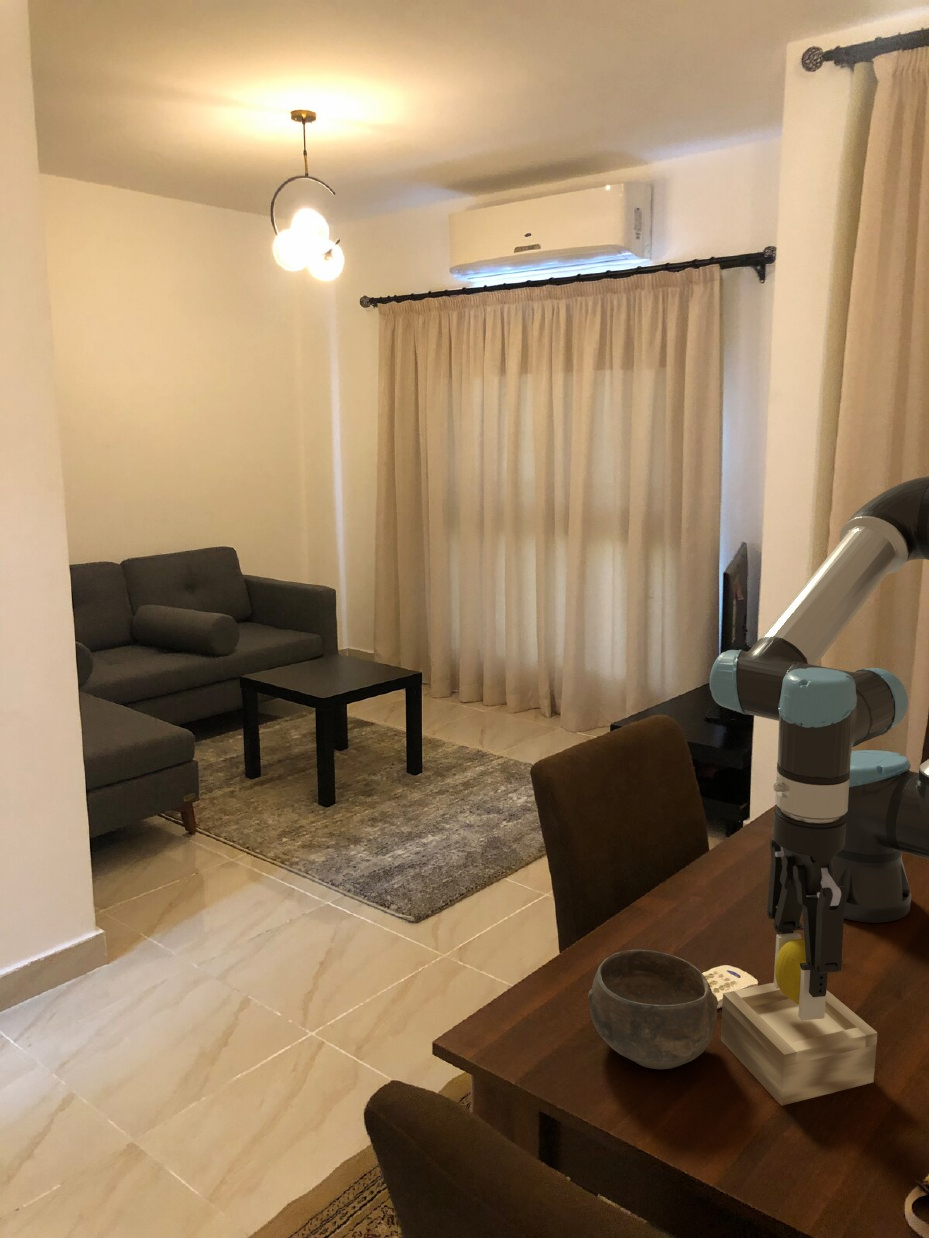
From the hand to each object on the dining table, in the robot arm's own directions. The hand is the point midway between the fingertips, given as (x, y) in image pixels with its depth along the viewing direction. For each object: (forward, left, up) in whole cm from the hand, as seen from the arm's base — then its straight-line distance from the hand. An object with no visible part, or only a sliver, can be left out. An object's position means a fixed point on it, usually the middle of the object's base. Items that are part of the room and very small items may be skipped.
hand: (798, 1000), depth 111 cm
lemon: (0, 0, -1) cm, 1 cm away
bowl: (+16, -4, -8) cm, 18 cm away
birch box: (0, 0, -8) cm, 8 cm away
